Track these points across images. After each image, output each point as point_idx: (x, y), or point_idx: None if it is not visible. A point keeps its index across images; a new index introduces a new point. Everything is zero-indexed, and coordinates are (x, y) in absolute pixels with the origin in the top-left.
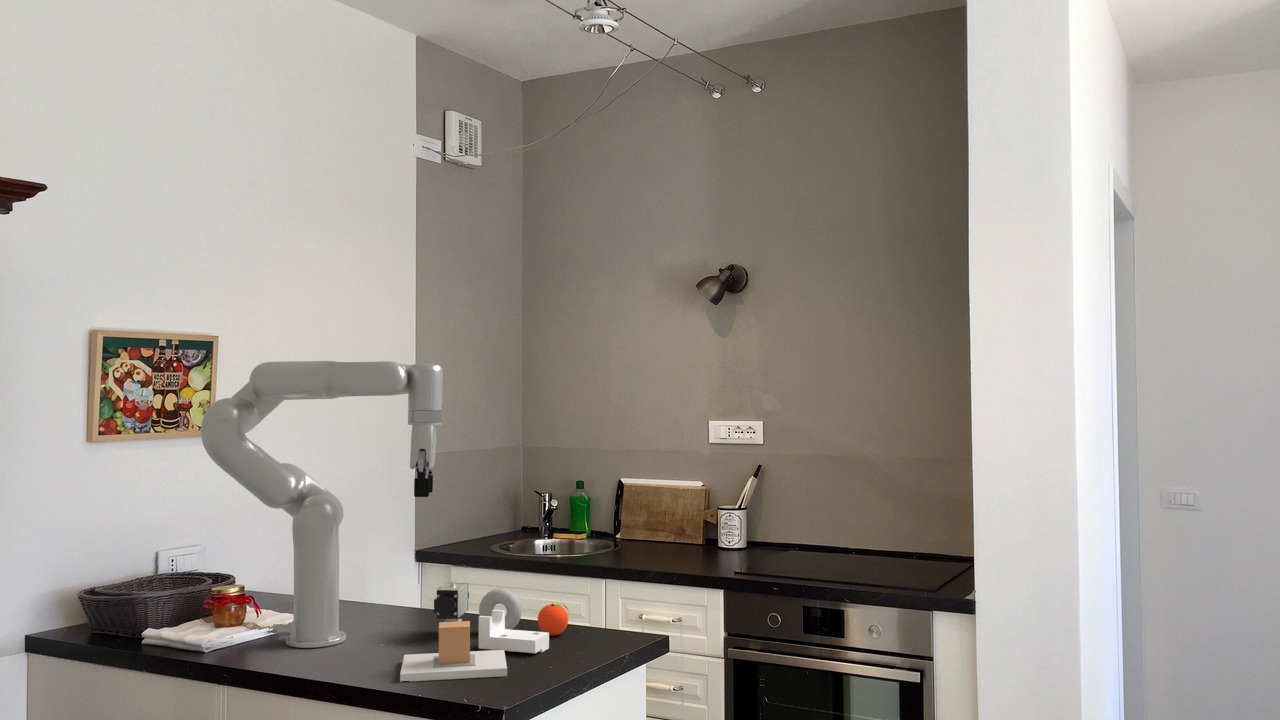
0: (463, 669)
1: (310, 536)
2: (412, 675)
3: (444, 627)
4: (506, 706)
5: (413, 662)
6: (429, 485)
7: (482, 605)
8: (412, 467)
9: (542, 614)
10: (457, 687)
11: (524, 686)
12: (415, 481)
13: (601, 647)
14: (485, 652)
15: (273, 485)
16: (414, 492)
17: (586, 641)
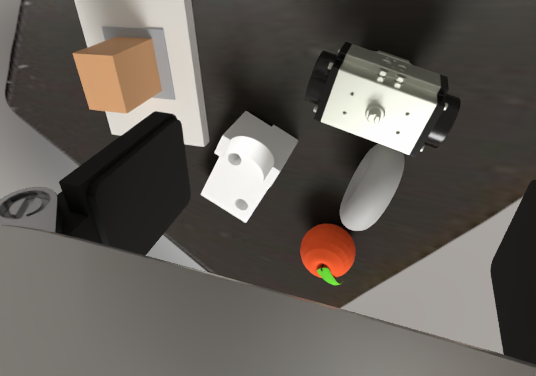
0: None
1: None
2: None
3: (77, 64)
4: (14, 110)
5: None
6: (505, 296)
7: (372, 159)
8: (170, 279)
9: (311, 241)
10: (65, 59)
11: (82, 141)
12: (83, 177)
13: (248, 263)
14: (190, 117)
15: None
16: (142, 124)
17: (283, 259)
